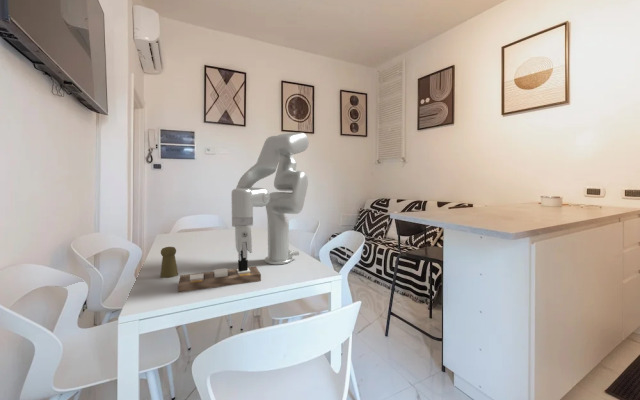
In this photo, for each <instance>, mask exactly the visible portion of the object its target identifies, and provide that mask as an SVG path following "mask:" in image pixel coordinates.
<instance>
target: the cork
mask: <svg viewBox="0 0 640 400" xmlns="http://www.w3.org/2000/svg"><path fill="white" fill-rule="evenodd" d="M176 253H177V248H176V247H174V246H166V247H163V248H161V250H160V255H161V257H162V259H161V266H160V267H161V269H160V278H161V279H163V278H164V279H168V278H173V277H176V276H178V275H179V272H178V271H179V270H178V266H177V261H176Z"/></svg>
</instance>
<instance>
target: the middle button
mask: <svg viewBox="0 0 640 400" xmlns="http://www.w3.org/2000/svg"><path fill="white" fill-rule="evenodd" d="M227 270H228V268H227V267H226V268H215V269H214V270H213V271H214V278H217V277H225V276H228V271H227Z"/></svg>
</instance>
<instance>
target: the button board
mask: <svg viewBox="0 0 640 400" xmlns="http://www.w3.org/2000/svg"><path fill="white" fill-rule="evenodd" d="M248 268H249V270H250V273H248V274H240V275H237V269H238V267H237V268H231V269H230V268H229V269H227V271H228V276H225V277H217V278H214V270H213V271H206V272H197V273H191V274H190V273H187V274H182V275H181V274H180V275H179V280H178V284H177V287H178V288H177V291H178V293H184V292H190V291H191V292H192V291H198V290H199V291H200V290H206V289H212V288H219V287H225V286H226V287H227V286H232V285H234V286H235V285H240V284H247V283H254V282H261V281H262V274H261V272H260V271H259V269H258V268H257V266H254V265H253V266H248ZM202 273H204V279H201V280H194V281H190V275H194V274H202Z"/></svg>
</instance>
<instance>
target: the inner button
mask: <svg viewBox="0 0 640 400" xmlns="http://www.w3.org/2000/svg"><path fill="white" fill-rule="evenodd" d="M236 269H237V268H236ZM248 273H250V270H249V268H248V270H247V271H239V270H238V269H237V275H240V274H248Z"/></svg>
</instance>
